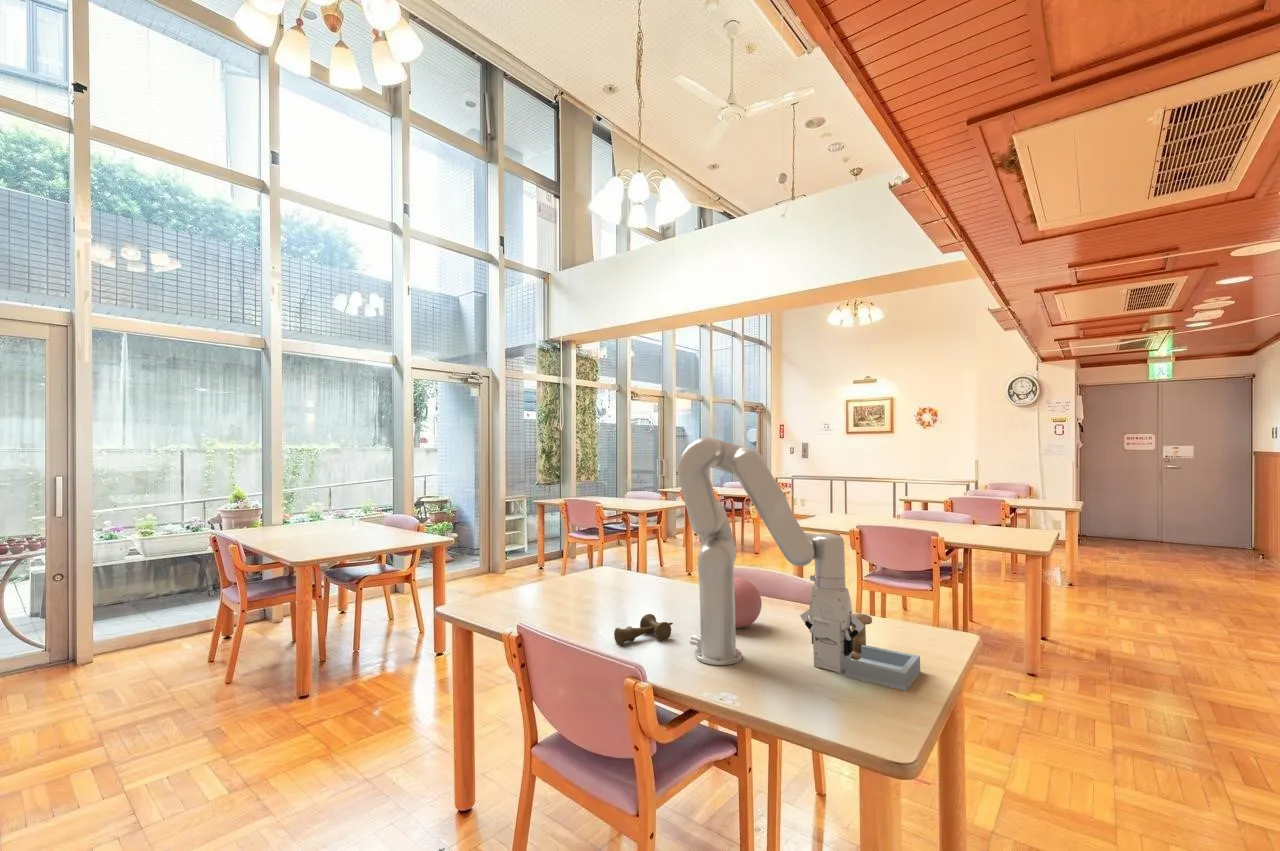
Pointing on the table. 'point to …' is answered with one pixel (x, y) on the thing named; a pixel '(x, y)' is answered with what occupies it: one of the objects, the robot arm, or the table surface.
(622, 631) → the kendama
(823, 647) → the supplement box
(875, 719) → the table surface
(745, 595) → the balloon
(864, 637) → the doorknob
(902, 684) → the square tray
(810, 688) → the table surface
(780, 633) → the table surface
